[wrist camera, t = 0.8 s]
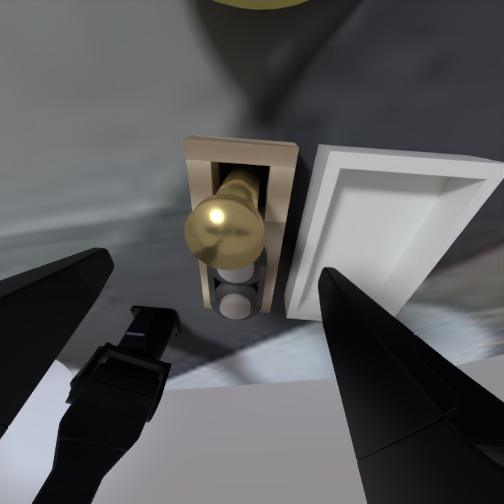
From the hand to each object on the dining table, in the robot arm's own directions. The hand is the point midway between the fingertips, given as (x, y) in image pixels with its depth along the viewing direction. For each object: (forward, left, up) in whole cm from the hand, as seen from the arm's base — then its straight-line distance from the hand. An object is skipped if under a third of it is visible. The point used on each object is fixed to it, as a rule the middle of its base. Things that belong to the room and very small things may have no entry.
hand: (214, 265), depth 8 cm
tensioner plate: (-5, 0, -12) cm, 13 cm away
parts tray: (-5, -12, -12) cm, 18 cm away
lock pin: (0, 0, -12) cm, 12 cm away
